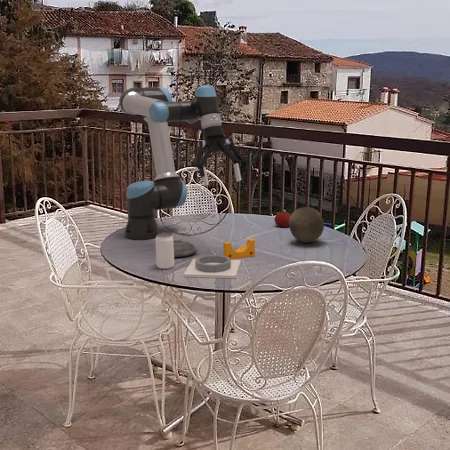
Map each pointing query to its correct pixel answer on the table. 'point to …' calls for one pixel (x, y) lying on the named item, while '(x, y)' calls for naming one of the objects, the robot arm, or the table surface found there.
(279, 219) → the tomato
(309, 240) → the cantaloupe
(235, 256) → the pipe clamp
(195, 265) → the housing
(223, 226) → the table surface
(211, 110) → the robot arm
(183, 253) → the grey stepped dome
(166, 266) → the can
